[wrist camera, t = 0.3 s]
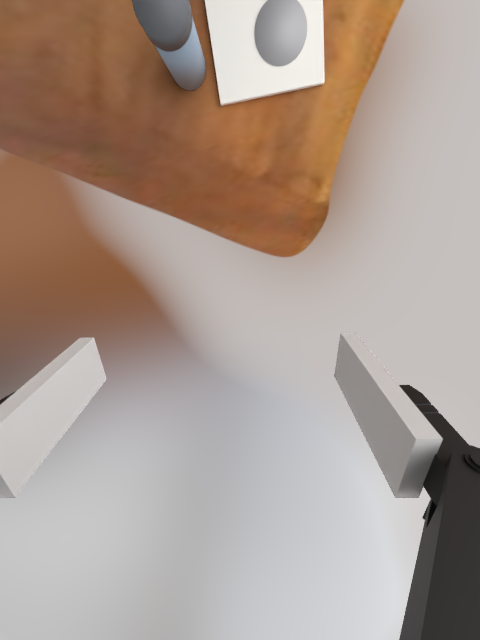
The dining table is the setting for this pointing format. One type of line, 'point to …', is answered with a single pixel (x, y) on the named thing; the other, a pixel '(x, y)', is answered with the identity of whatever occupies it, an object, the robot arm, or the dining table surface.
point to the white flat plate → (265, 46)
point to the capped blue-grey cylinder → (174, 38)
